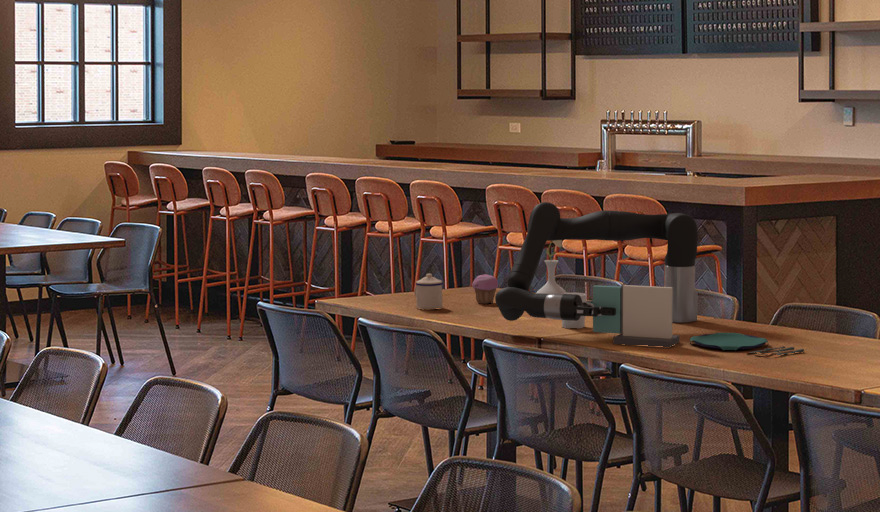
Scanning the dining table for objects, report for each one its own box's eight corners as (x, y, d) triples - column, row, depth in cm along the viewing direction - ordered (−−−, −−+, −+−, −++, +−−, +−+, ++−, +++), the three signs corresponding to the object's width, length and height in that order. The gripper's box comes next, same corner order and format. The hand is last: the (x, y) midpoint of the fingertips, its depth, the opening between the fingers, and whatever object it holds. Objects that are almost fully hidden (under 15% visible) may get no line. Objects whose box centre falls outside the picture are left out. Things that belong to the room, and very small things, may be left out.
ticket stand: (679, 342, 347) (679, 285, 345) (669, 348, 338) (670, 290, 336) (624, 338, 353) (624, 283, 352) (613, 344, 345) (613, 287, 343)
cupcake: (482, 300, 433) (482, 272, 432) (503, 302, 428) (503, 273, 427) (467, 303, 426) (467, 274, 425) (489, 305, 421) (488, 276, 420)
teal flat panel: (622, 332, 349) (622, 286, 348) (620, 333, 348) (620, 287, 346) (595, 330, 353) (595, 285, 351) (592, 331, 351) (592, 286, 350)
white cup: (585, 329, 371) (585, 296, 370) (558, 328, 372) (558, 295, 371) (587, 325, 378) (587, 292, 377) (561, 324, 380) (561, 292, 379)
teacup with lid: (448, 308, 416) (448, 273, 415) (427, 311, 410) (427, 276, 409) (425, 304, 425) (425, 270, 424) (405, 307, 419) (404, 273, 418)
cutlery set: (728, 337, 355) (728, 329, 355) (811, 354, 330) (811, 346, 330) (676, 345, 344) (676, 337, 344) (758, 364, 319) (758, 355, 319)
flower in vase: (569, 302, 427) (569, 229, 424) (536, 302, 427) (535, 230, 425) (566, 297, 440) (565, 226, 437) (533, 297, 440) (533, 227, 438)
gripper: (554, 297, 348) (611, 300, 341) (571, 290, 361) (627, 293, 354) (554, 323, 349) (611, 327, 342) (571, 316, 362) (627, 319, 355)
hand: (619, 310), depth 348 cm, fingers open, 6 cm apart
